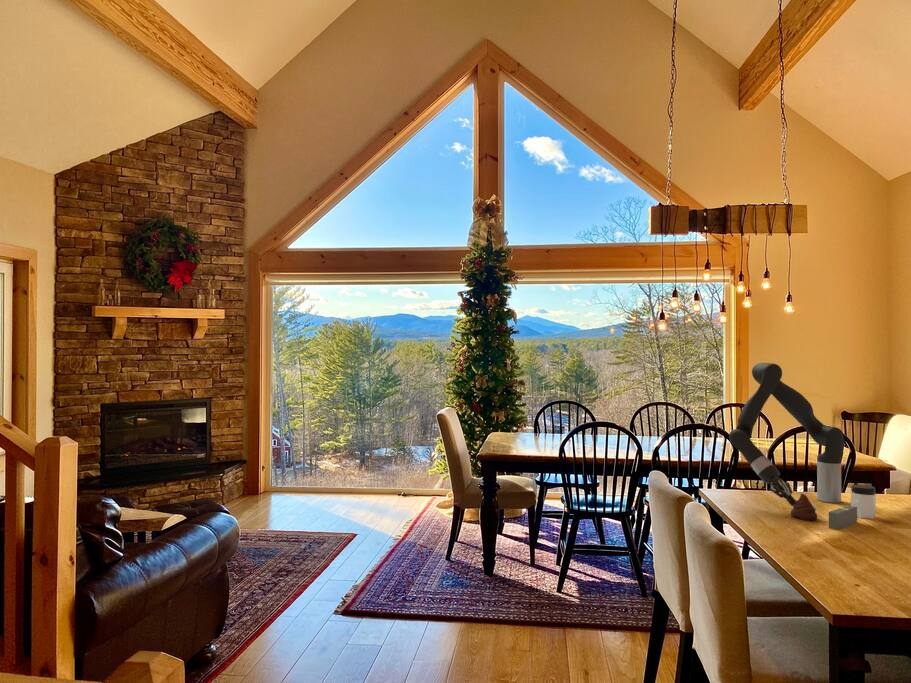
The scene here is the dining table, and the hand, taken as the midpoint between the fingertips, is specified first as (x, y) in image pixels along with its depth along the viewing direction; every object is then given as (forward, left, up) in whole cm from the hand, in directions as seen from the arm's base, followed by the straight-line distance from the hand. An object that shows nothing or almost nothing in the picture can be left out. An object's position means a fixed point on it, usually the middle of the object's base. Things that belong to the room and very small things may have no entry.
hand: (794, 504), depth 253 cm
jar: (-22, +17, -5) cm, 28 cm away
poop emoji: (+1, +4, -5) cm, 6 cm away
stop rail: (0, +18, -4) cm, 18 cm away
